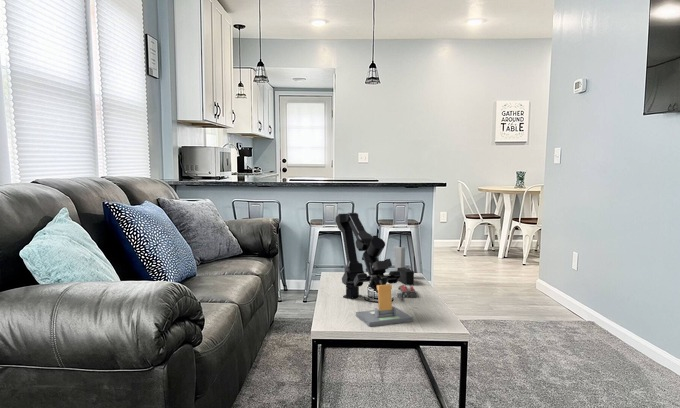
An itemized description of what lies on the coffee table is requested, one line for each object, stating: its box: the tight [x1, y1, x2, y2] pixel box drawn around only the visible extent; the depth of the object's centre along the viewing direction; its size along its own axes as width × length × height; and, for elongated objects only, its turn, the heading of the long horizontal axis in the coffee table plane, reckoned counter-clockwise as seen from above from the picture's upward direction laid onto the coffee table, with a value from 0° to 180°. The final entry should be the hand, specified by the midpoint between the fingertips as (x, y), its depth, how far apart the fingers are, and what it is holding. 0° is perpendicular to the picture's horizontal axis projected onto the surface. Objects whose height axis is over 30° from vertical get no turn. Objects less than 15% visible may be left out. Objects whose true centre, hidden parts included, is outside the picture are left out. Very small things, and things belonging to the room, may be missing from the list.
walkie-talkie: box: [396, 284, 417, 301], centre depth 204 cm, size 9×4×20 cm
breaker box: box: [355, 305, 414, 327], centre depth 172 cm, size 13×18×4 cm
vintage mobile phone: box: [393, 231, 406, 271], centre depth 239 cm, size 4×5×25 cm
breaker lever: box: [377, 283, 393, 315], centre depth 171 cm, size 2×6×11 cm, turn 110°
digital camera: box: [397, 266, 415, 286], centre depth 229 cm, size 10×5×7 cm, turn 18°
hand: (383, 297), depth 171 cm, fingers closed, pressing on breaker lever
